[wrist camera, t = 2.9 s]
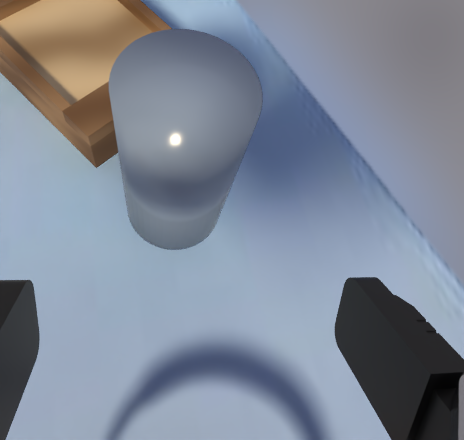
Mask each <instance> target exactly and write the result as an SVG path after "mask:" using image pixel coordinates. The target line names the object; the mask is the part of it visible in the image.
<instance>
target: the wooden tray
mask: <svg viewBox="0 0 464 440" xmlns="http://www.w3.org/2000/svg"><path fill="white" fill-rule="evenodd" d="M168 29H172V28H171V27H169V26H168V25H167V24H166V23H165V22H164V21H163V20H162V19H160V18H159V17H158V16H157V15H156V14H155V13H154V12H153V11H152V10H150V9H149V8H148V7H147V6H146V5H145V4H144V3H143V2H142V1H140V0H0V72H1V73H2V74H3V75H4V76H5V77H6V78H7V79H8V80H9V81H10V82H11V83H12V84H13V85H14V86H15V87H16V88H17V89H18V90H19V91H20V92H21V93H22V94H23V95H24V96H25V97H26V98H27V99H28V100H29V101H30V102H31V103H32V104H33V105H34V106H35V107H36V108H37V109H38V110H39V111H40V112H41V113H42V114H43V115H44V116H45V117H46V118H47V119H48V120H49V121H50V122H51V123H52V124H53V125H54V126H55V127H56V128H57V129H58V130H59V131H60V132H61V133H62V134H63V135H64V136H65V137H66V138H67V139H68V140H69V141H70V142H71V143H72V144H73V145H74V146H75V147H76V148H77V149H78V150H79V151H80V152H81V153H82V154H83V155H84V156H85V157H86V158H87V159H88V160H89V161H90V162H91V163H92V164H93V165H94V166H95V167H96V168H97V167H98V166H100V165H101V164H103V163H104V162H105V161H107V160H108V159H109V158H111V157H112V156H114V155H115V154H116V153H118V147H117V140H116V134H115V127H114V121H113V115H112V108H111V102H110V95H109V77H110V72H111V69H112V66H113V64H114V62H115V60H116V59H117V57H118V56H119V55H120V53H121V52H122V51H123V50H124V49H125V48H126V47H127V46H128V45H130V44H131V43H132V42H134V41H135V40H137V39H139V38H141V37H143V36H145V35H147V34H150V33H153V32H157V31H162V30H168Z"/></svg>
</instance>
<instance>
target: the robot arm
mask: <svg viewBox="0 0 464 440" xmlns="http://www.w3.org/2000/svg"><path fill="white" fill-rule="evenodd" d="M335 338H336V342H337V345H338V347H339V349H340V351H341V353H342V355H343V356H344V358H345V360H346V361H347V363H348V365H349V367H350V368H351V370H352V372H353V374H354V375H355V377H356V379H357V381H358V382H359V384H360V386H361V388H362V389H363V391H364V393H365V394H366V396H367V398H368V400H369V401H370V403H371V405H372V407H373V408H374V410H375V412H376V414H377V415H378V417H379V419H380V420H381V422H382V424H383V426H384V427H385V429H386V431H387V433H388V434H389V436H390V438H391V440H464V359H463V358H462V357H461V356H460V355H459V354H458V353H457V352H456V351H455V350H454V349H453V348H452V347H451V346H450V345H449V344H448V342H447V341H446V340H445V339H444V338H443V337H442V336H441V335H440V334H439V333H436V330H435V329H434V328H433V327H432V326H431V324H430V323H429V322H426V319H425V318H424V317H423V316H422V315H421V314H420V313H419V312H418V311H417V310H416V309H415V307H414V306H412V305H411V304H409V303H407V302H406V301H404V300H403V299H401V298H400V297H398V296H396V295H393V294H392V293H391V292H390V291H389V290H388V288H387V287H386V286H385V285H384V284H383V283H382V282H381V281H380V280H379V279H378V278H375V277H361V278H348V279H347V280H346V282H345V284H344V288H343V292H342V296H341V301H340V305H339V309H338V314H337V318H336V322H335ZM38 349H39V326H38V318H37V310H36V302H35V294H34V287H33V283H32V282H31V281H30V280H0V440H6V437H7V434H8V432H9V429H10V426H11V424H12V421H13V419H14V416H15V413H16V411H17V408H18V406H19V403H20V400H21V398H22V395H23V393H24V390H25V387H26V385H27V382H28V380H29V377H30V374H31V372H32V369H33V367H34V364H35V361H36V358H37V355H38Z"/></svg>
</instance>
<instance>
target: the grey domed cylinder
mask: <svg viewBox="0 0 464 440" xmlns="http://www.w3.org/2000/svg"><path fill="white" fill-rule="evenodd" d="M109 95H110V102H111V108H112V115H113V121H114V127H115V134H116V140H117V147H118V153H119V160H120V166H121V173H122V179H123V185H124V192H125V198H126V205H127V211H128V217H129V220H130V222H131V224H132V226H133V228H134V229H135V231H136V232H137V233H138V234H139V235H140V236H141V237H142V238H143V239H144V240H145V241H147V242H149V243H150V244H152V245H154V246H157V247H160V248H163V249H170V250H179V249H185V248H189V247H192V246H194V245H196V244H198V243H200V242H202V241H203V240H204V239H205V238H207V237H208V236H209V234H210V233H211V232H212V231H213V229H214V227H215V225H216V223H217V221H218V218H219V216H220V213H221V211H222V208H223V206H224V203H225V201H226V198H227V196H228V193H229V191H230V188H231V186H232V183H233V181H234V178H235V176H236V173H237V171H238V168H239V166H240V163H241V161H242V158H243V156H244V153H245V151H246V148H247V146H248V143H249V141H250V138H251V136H252V134H253V131H254V129H255V126H256V124H257V121H258V119H259V116H260V112H261V109H262V102H263V100H262V88H261V84H260V81H259V78H258V76H257V74H256V72H255V70H254V68H253V67H252V65H251V64H250V62H249V61H248V60H247V59H246V58H245V57H244V56H243V55H242V54H241V53H240V52H239V51H238V50H237V49H235V48H234V47H233V46H231V45H230V44H228V43H227V42H225V41H223V40H221V39H219V38H217V37H215V36H212V35H209V34H207V33H203V32H199V31H194V30H187V29H168V30H162V31H157V32H153V33H150V34H147V35H145V36H143V37H141V38H139V39H137V40H135V41H134V42H132V43H131V44H130V45H128V46H127V47H126V48H125V49H124V50H123V51H122V52H121V53H120V55H119V56H118V57H117V59H116V60H115V62H114V64H113V66H112V69H111V72H110V77H109Z"/></svg>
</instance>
